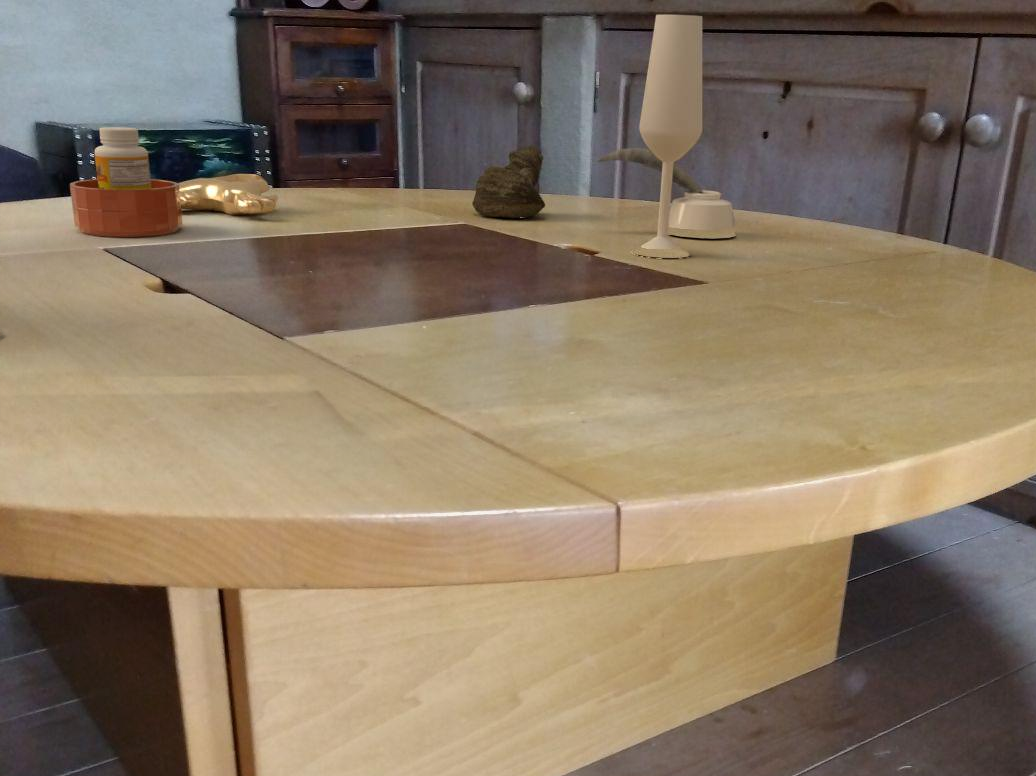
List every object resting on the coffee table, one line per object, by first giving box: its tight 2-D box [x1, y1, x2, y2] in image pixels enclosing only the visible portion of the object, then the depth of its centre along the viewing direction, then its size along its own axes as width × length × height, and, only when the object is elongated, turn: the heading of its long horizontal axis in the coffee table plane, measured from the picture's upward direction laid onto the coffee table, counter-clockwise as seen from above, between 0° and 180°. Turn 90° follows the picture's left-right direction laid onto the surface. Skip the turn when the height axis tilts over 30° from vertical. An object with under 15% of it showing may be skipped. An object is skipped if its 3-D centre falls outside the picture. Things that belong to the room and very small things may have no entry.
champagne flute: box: [630, 14, 703, 260], centre depth 120 cm, size 7×7×24 cm
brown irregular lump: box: [471, 145, 546, 219], centre depth 147 cm, size 11×12×10 cm
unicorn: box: [177, 173, 279, 215], centre depth 141 cm, size 20×4×17 cm
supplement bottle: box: [94, 126, 151, 189], centre depth 124 cm, size 6×6×10 cm
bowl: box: [69, 178, 183, 238], centre depth 126 cm, size 11×11×5 cm
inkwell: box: [596, 147, 736, 230], centre depth 137 cm, size 9×18×10 cm, turn 100°
